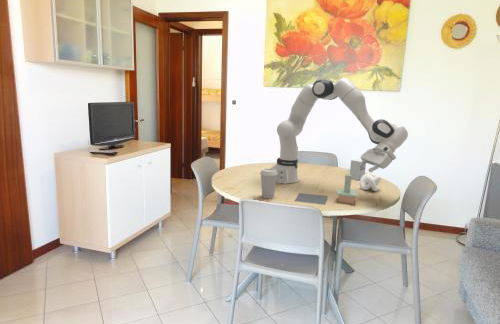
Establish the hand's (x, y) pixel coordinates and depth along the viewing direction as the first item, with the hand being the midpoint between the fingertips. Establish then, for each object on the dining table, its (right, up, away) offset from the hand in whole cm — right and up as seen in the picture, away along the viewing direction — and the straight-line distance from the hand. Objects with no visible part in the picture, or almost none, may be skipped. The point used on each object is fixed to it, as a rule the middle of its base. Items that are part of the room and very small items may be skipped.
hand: (364, 169), depth 188 cm
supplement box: (+12, -8, +53) cm, 55 cm away
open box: (-9, -17, +2) cm, 20 cm away
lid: (-9, -13, +1) cm, 16 cm away
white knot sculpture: (+11, -13, +26) cm, 31 cm away
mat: (-27, -16, +4) cm, 32 cm away
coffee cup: (-51, -15, +6) cm, 53 cm away
